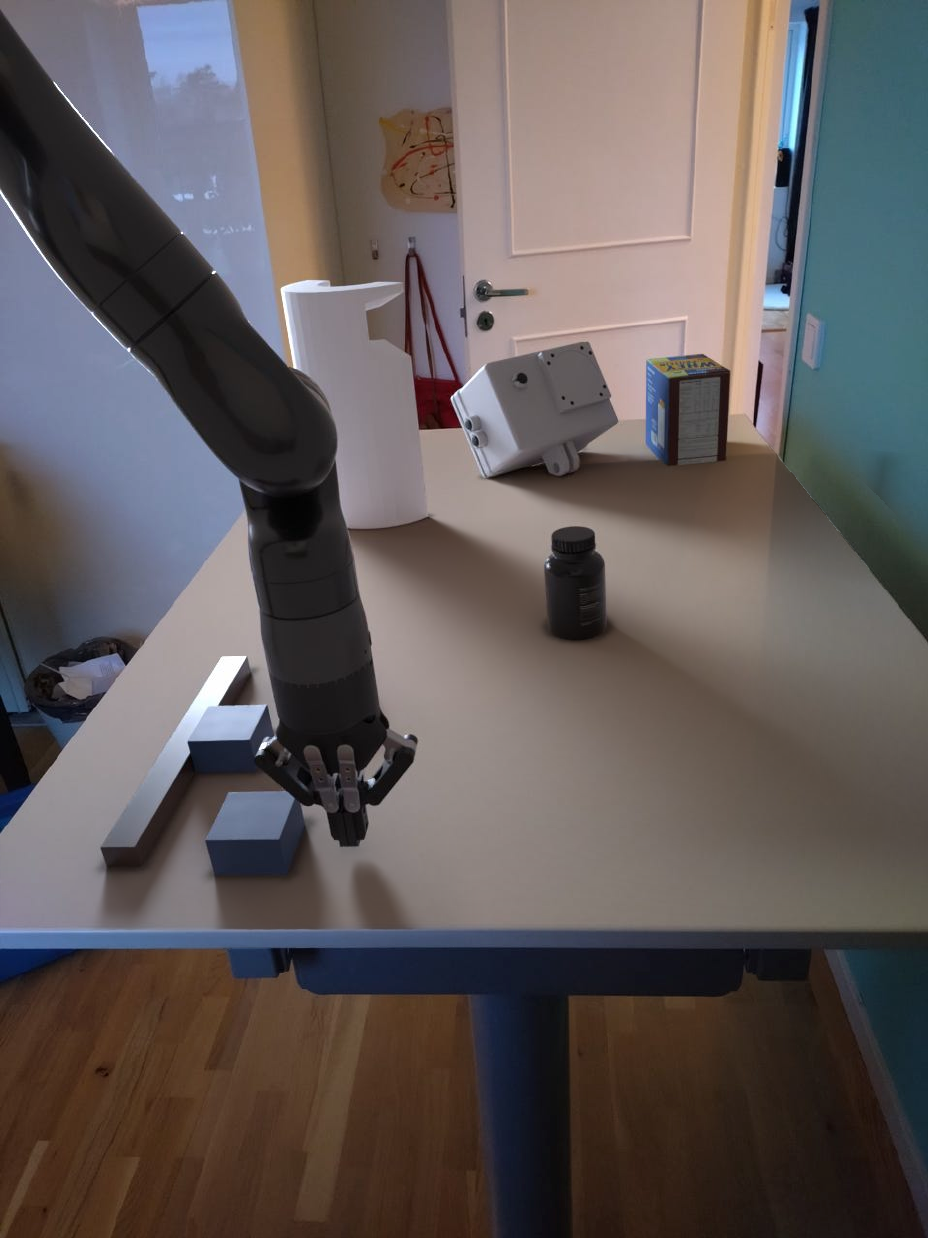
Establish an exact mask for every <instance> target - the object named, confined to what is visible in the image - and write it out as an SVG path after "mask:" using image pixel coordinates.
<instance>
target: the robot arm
mask: <svg viewBox="0 0 928 1238" xmlns="http://www.w3.org/2000/svg"><path fill="white" fill-rule="evenodd" d="M0 195H1V197H2V198H3V200H4V201H5V203H6V204H7V205H8V207H9V208H10V210H11V212H12V213H13V215H14V217H15V218H16V219H17V222H19V224H20V226H21V227H22V229H23V230H24V231H25V233H26V235H27V236H28V238H29V239H30V241H31V242H32V243H33V245H34V247H35V248H36V249H37V250H38V252H39V254H41V255H40V256H42V257H43V259H44V260H45V262H46V263H47V264H48V266H49V267H50V268H51V269H52V271H53V273H55V275H56V276H57V277H58V279H60V280H61V282H62V283H63V284H64V285H65V287H66V288H68V290H69V291H70V292H71V293H72V295H74V297H75V298H76V299H77V300H78V301H79V302H80V303H81V304H82V305H83V306H84V308H85V309H86V310H87V311H88V312H89V313H91V315H92V316H93V317H94V318H95V319H96V320H97V321H98V323H100V324H101V326H102V327H103V328H105V330H106V331H107V332H108V333H109V334H110V335H111V336H112V338H114V339H115V340H116V341H117V342H118V343H119V344H120V345H121V346H122V347H123V348H124V349H126V350H127V352H128V353H129V354H130V355H131V356H132V357H133V358H134V359H135V360H136V361H137V362H138V363H139V364H140V365H141V366H142V367H144V368H145V369H146V370H147V371H148V372H149V373H150V374H151V375H152V376H153V377H154V379H156V381H157V382H158V383H159V384H160V386H162V388H163V390H164V391H165V392H166V393H167V395H168V397H169V398H170V399H171V401H172V403H173V404H174V405H175V407H176V408H177V409H178V410H179V411H180V413H181V414H182V416H183V417H184V418H185V420H186V421H187V422H188V423H189V425H190V426H191V427H192V429H193V430H194V431H195V432H196V434H197V435H198V436H199V438H200V439H201V440H202V442H203V443H204V444H205V445H206V446H207V448H208V449H209V450H210V452H212V454H213V455H214V456H215V457H216V458H217V459H218V461H219V462H220V463H221V464H222V465H223V466H224V467H225V468H226V469H227V470H228V471H229V472H230V473H231V474H232V475H233V476H234V477H235V478H237V480H238V483H239V484H238V485H239V489H240V492H241V497H242V501H243V505H244V511H245V514H246V519H247V548H248V559H249V567H250V572H251V576H252V581H253V586H254V590H255V595H256V600H257V605H258V611H259V625H260V637H261V643H262V647H263V652H264V657H265V662H266V667H267V671H268V676H269V681H270V685H271V690H272V695H273V700H274V706H275V710H276V715H277V718H278V725H277V727H276V730H275V734H274V736H273V738H272V737H266V738H264V739H263V741H262V743H261V745H260V747H259V750H258V752H257V754H256V756H255V758H254V763H255V765H256V766H257V767H258V768H259V770H261V771H262V772H263V773H264V774H265V775H266V776H268V777H269V778H270V779H272V781H274V782H275V783H276V784H277V785H278V786H279V787H280V788H282V789H284V791H287V792H288V793H289V794H290V795H292V796H293V797H294V798H295V799H296V800H298V801H299V802H300V803H301V806H304V807H312V806H313V805H316V806H320V807H322V808H323V809H324V810H325V812H326V817H327V822H328V827H329V832H330V836H331V838H332V839H333V841H338V842H339V843H338V844H339V847H340V848H358V847H360V843H361V841H364V840H365V838H366V836H367V832H368V829H369V826H370V825H369V824H370V823H369V817H368V810H367V805H369V806H372V807H376V806H379V805H381V803H383V801H384V799H385V798H386V797H387V796H388V795H389V794H390V792H391V791H392V789H394V787H395V786H396V784H397V783H398V782H399V781H400V780H401V778H402V777H403V776H404V775H405V773H406V772H407V771H408V770H409V769H410V767H411V766H412V765H413V763H414V761H415V756H416V753H417V749H418V742H419V740H418V737H417V736H416V735H415V734H411V733H407V734H405V735H401V734H399V733H397V732H396V731H394V730H392V729H391V728H390V722H389V720H388V717H387V716H386V715H385V714H384V712H383V711H382V709H381V704H380V698H379V694H378V693H379V691H378V685H377V677H376V671H375V664H374V658H373V652H372V645H373V642H372V636H371V631H370V629H369V624H368V623H369V622H368V618H367V614H366V611H365V608H364V605H363V602H362V601H363V600H362V598H361V593H360V589H359V583H358V582H359V579H358V573H357V567H356V560H355V554H354V549H353V543H352V539H351V535H350V532H349V528H347V525H346V522H345V519H344V516H343V512H342V508H341V503H340V494H339V484H338V475H337V467H336V454H337V448H338V436H337V429H336V425H335V421H334V418H333V415H332V412H331V409H330V406H329V403H328V401H327V398H326V397H325V395H324V393H323V391H322V390H321V388H320V387H319V386H318V385H317V384H316V383H315V382H314V381H313V380H312V379H311V378H310V377H309V376H307V375H306V374H304V373H303V372H301V371H299V370H297V369H295V368H294V367H293V366H288V364H286V362H285V361H284V360H283V359H282V357H280V356H279V355H278V353H277V352H276V351H275V350H274V349H273V348H272V347H271V345H269V343H268V342H267V341H266V340H265V339H264V338H263V336H262V335H261V334H260V333H259V332H258V331H257V330H256V329H255V328H254V326H253V325H252V324H251V323H250V321H249V320H248V319H247V316H246V315H245V313H244V311H243V309H242V307H241V304H240V302H239V301H238V299H237V298H236V296H235V295H234V293H233V292H232V290H231V289H230V288H229V286H228V285H227V283H226V282H225V281H224V280H223V278H222V277H221V276H220V275H219V273H218V272H217V271H214V270H215V269H214V267H213V266H212V265H211V264H210V263H209V262H208V261H207V259H206V258H205V257H204V256H203V255H202V254H201V252H200V251H199V250H198V249H197V248H196V247H195V245H194V244H193V243H192V242H191V241H190V240H189V239H188V238H187V236H186V235H185V234H184V233H183V232H182V231H181V230H180V228H179V227H178V226H177V224H176V223H175V222H174V221H173V220H172V219H171V218H170V217H169V215H168V214H167V213H166V212H165V211H164V210H163V208H161V206H160V205H159V204H158V203H157V202H156V200H154V198H153V197H152V196H151V195H150V194H149V193H148V192H147V190H146V189H145V188H144V187H143V186H142V184H141V183H139V181H138V180H137V179H136V178H135V177H134V176H133V175H132V174H131V172H130V171H129V170H128V169H127V168H126V166H124V164H123V163H122V162H121V160H119V158H117V156H116V154H114V153H113V152H112V150H111V149H110V148H109V146H107V145H106V143H105V142H104V141H103V140H102V139H101V138H100V137H99V135H98V134H97V133H96V132H95V131H94V130H93V128H92V127H91V126H90V125H89V123H88V122H87V121H86V120H85V119H84V117H82V115H81V114H80V113H79V111H78V110H77V109H76V108H75V107H74V105H73V104H72V103H71V101H70V100H69V99H68V98H67V97H66V95H64V93H63V92H62V91H61V89H60V87H58V85H57V84H56V83H55V82H54V80H53V79H52V78H51V76H50V75H49V73H48V72H47V71H46V70H45V68H44V67H43V65H42V64H41V63H40V62H39V60H38V59H37V57H36V56H35V54H34V53H33V52H32V51H31V49H30V48H29V47H28V45H27V44H26V42H25V41H24V40H23V38H22V37H21V36H20V34H19V33H18V31H17V30H16V29H15V27H14V26H13V24H12V23H11V22H10V20H9V19H8V17H7V16H6V14H5V13H4V12H3V9H2V8H0ZM382 746H383V747H384V753H383V758H384V761H383V762H382V764H380V766H379V767H378V769H377V770H376V771H375V772H374V774H373V775H372V776H371V777H370V779H367V780H366V777H365V769H366V768H367V767H368V766H369V765H370V763H371V761H372V760H373V759H374V757H375V755H376V754H377V753H378V752H379V750H380V749H381V747H382Z"/></svg>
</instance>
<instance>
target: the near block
mask: <svg viewBox="0 0 928 1238" xmlns="http://www.w3.org/2000/svg"><path fill="white" fill-rule="evenodd" d="M305 826H306V823H305V818H304V813H303V808H302V804H301V803H300V802H299V801H298V800H296V799H295V798H294V797H293V796H292V795H290V794H289V793H288V792H287V791H286V790H284V791H281V790H280V791H277V790H276V791H229V792H228V793H227V795H226V797H225V799H224V801H223V803H222V805H221V807H220V810H219V812H218V813H217V815H216V817H215V820H214V822H213V823H212V826H211V828H210V829H209V831H208V833H207V836H206V838H205V840H204V842H205V845H206V848H207V852H208V856H209V860H210V863H211V867H212V870H213V874H214V875H215V876H246V875H247V876H251V875H252V876H253V875H255V876H256V875H257V876H259V875H261V876H262V875H263V876H265V875H266V876H267V875H270V876H271V875H288V874H289V871H290V868H291V866H292V863H293V860H294V857H295V854H296V851H297V849H298V846H299V843H300V840H301V837H302V834H303V831H304V828H305Z"/></svg>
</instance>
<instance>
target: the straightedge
mask: <svg viewBox="0 0 928 1238" xmlns="http://www.w3.org/2000/svg"><path fill="white" fill-rule="evenodd" d="M251 673H252V671H251V667H250V662H249V657H248V656H247V655H241V656H221V658H220V659H219V661H218V662H217V663H216V665H215V667H214V669H212V672H210V675H209V676H208V677H207V679H206V680H205V682H204V684H203V685H202V687H201V688H200V690H199V692H198V694H197V695H196V696H195V698H194V700H193V701H192V703H191V705H190V706H189V708H188V709H187V711H186V713H184V715H183V717H182V718H181V720H180V722H179V723H178V725H177V727H176V728H175V730H174V731H173V733H172V734H171V736H170V738H169V739H168V740H167V742H166V744H165V745H164V746H163V748H162V750H161V751H160V753H159V755H158V756H157V758H156V759H155V761H154V762H153V764H152V766H151V767H150V769H149V770H148V772H147V773H146V775H145V776H144V778H143V780H142V781H141V783H140V785H139V786H138V787H137V789H136V791H135V792H134V794H133V795H132V797H131V799H130V800H129V802H128V803H127V804H126V806H125V808H124V809H123V811H122V812H121V814H120V816H119V818H118V819H117V821H116V822H115V824H114V825H113V827H112V828H111V830H110V832H109V833H108V834H107V836H106V838H105V839H104V841H103V842H102V844H101V846H100V848H99V849H100V852H101V855H102V857H103V860H104V863H105V866H106V868H129V867H130V868H141V867H142V866H143V864H144V863H145V861H146V859H147V857H148V856H149V854H150V852H151V850H152V849H153V847H154V846H155V844H156V842H157V840H158V838H159V836H160V834H162V833H161V832H162V831H163V829H164V827H165V826H166V824H167V822H168V820H169V819H170V817H171V814H173V811H174V809H175V808H176V806H177V804H178V803H179V800H180V799H181V797H182V795H183V794H184V792H185V790H186V788H187V786H188V785H189V783H190V781H191V779H192V777H193V776H194V774H195V773H196V772H195V769H194V765H193V761H192V757H191V754H190V750H189V746H188V743H187V741H188V740H189V738H190V736H191V735H192V733H193V731H194V730H195V728H196V726H197V725H198V723H199V721H200V720H201V718H202V716H203V715H204V713H205V711H206V710H207V708H208V707H209V706H234V703H235V701H236V700H237V698H238V696H239V694H240V692H241V690H242V689H243V687H244V685H245V684H246V682H247V680H248V678H249V677H250V674H251Z"/></svg>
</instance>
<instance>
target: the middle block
mask: <svg viewBox="0 0 928 1238" xmlns="http://www.w3.org/2000/svg"><path fill="white" fill-rule="evenodd" d="M274 736H275V733H274V728H273V723H272V718H271V714H270V710H269V706H268V704H250V705H248V704H242V705H241V704H240V705H239V704H238V705H232V706H209V707H208V708H207V710H206V711H205V713H204V715H203V716H202V718H201V720H200V721H199V723H198V725H197V726H196V728H195V730H194V731H193V733H192V735H191V736H190V738H189V740H188V741H187V743H188V746H189V750H190V754H191V757H192V761H193V765H194V769H195V772H194V773H196V774H198V773H199V774H201V773H203V774H204V773H205V774H206V773H248V772H249V773H250V772H258V771H259V770H260V768H258V767H257V766H256V765H255V763H254V758H255V756H256V754H257V752H258V750H259V747H260V745H261V743H262V741H263V739H264V738H266V737H272V738H273V737H274Z"/></svg>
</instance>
